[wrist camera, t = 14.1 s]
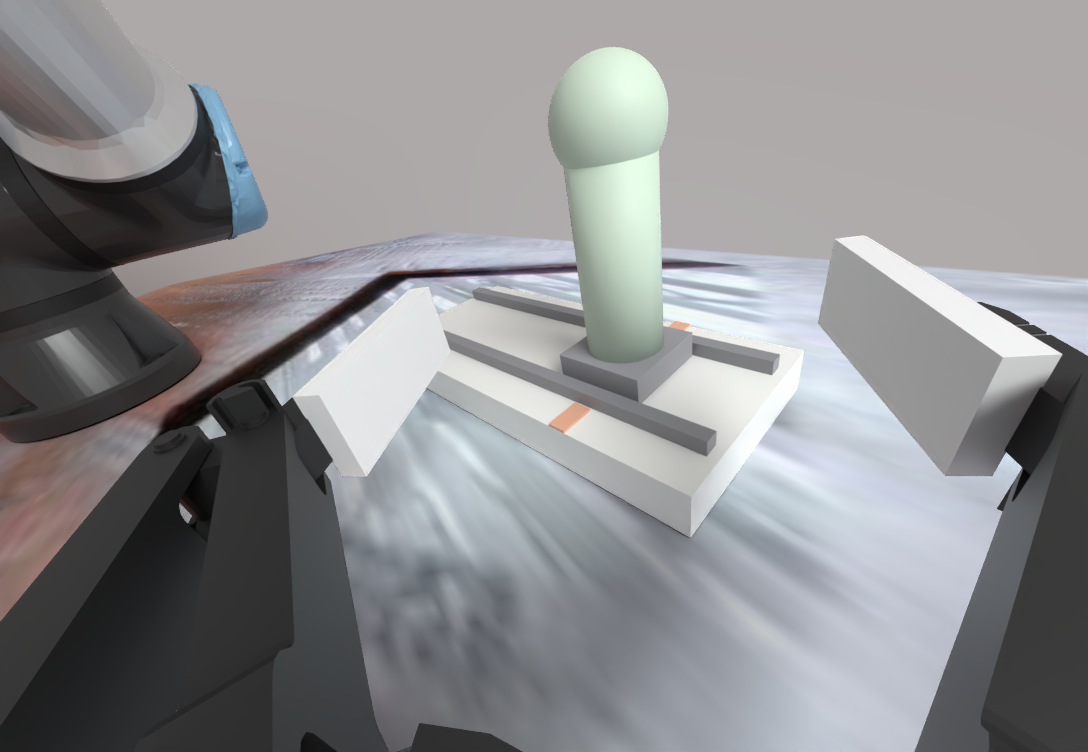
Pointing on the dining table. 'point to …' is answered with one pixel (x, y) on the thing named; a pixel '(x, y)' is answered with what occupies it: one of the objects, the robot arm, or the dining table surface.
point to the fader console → (616, 402)
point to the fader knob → (616, 220)
